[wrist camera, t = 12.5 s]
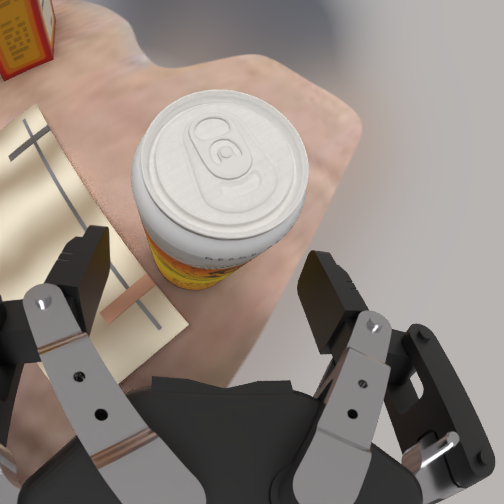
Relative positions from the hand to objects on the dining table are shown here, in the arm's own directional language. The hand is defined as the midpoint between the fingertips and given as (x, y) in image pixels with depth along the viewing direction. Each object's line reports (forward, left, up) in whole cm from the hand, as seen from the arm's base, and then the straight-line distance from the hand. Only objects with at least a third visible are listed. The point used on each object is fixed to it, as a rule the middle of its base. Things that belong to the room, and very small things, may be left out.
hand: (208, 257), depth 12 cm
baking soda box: (-35, 0, -12) cm, 37 cm away
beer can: (-2, +2, -12) cm, 12 cm away
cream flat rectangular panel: (-10, -8, -11) cm, 17 cm away
